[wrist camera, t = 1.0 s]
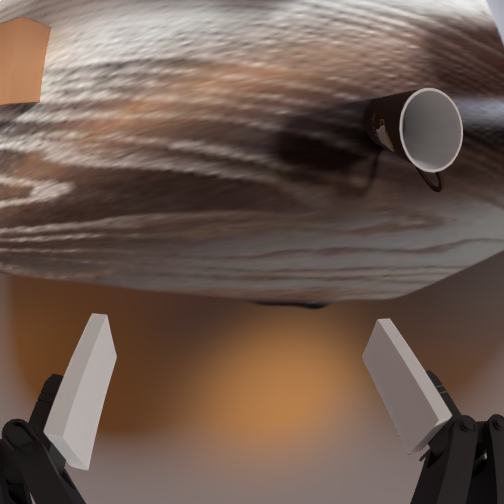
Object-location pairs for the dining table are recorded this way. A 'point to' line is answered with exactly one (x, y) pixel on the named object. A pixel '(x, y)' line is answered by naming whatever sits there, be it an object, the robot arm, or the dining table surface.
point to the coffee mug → (417, 129)
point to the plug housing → (22, 60)
